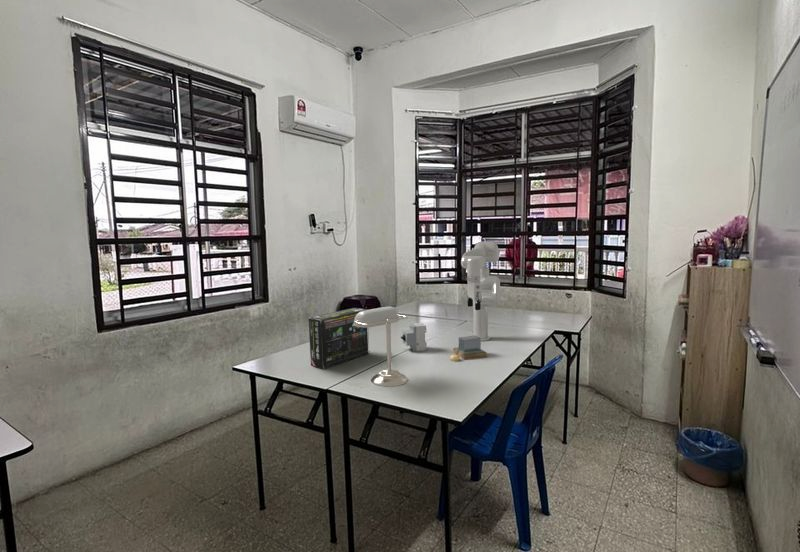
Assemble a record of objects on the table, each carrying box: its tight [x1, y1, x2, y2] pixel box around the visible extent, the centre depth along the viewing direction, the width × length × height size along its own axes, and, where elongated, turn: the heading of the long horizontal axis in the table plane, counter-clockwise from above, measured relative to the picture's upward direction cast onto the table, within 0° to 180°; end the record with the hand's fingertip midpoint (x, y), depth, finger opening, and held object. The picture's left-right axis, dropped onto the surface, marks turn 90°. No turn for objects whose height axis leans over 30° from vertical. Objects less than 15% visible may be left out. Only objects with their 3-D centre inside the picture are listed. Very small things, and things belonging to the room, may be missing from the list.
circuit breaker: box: [400, 322, 428, 352], centre depth 251 cm, size 8×14×15 cm, turn 108°
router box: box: [307, 307, 370, 370], centre depth 233 cm, size 36×11×27 cm, turn 141°
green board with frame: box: [452, 346, 487, 360], centre depth 240 cm, size 14×14×3 cm
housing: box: [458, 335, 482, 352], centre depth 239 cm, size 11×6×7 cm, turn 112°
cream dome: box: [449, 354, 460, 362], centre depth 230 cm, size 5×5×2 cm
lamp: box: [353, 306, 409, 387], centre depth 202 cm, size 26×24×34 cm
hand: (473, 308), depth 242 cm, fingers open, 9 cm apart
